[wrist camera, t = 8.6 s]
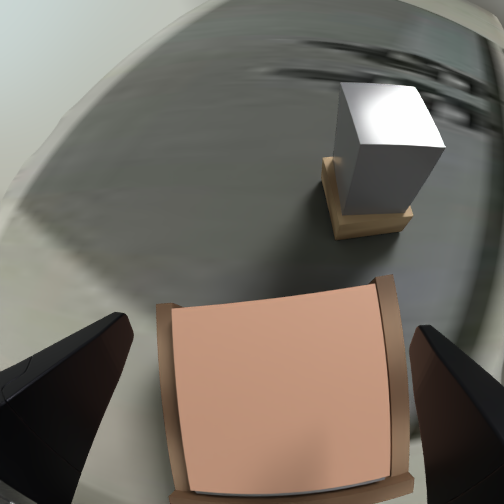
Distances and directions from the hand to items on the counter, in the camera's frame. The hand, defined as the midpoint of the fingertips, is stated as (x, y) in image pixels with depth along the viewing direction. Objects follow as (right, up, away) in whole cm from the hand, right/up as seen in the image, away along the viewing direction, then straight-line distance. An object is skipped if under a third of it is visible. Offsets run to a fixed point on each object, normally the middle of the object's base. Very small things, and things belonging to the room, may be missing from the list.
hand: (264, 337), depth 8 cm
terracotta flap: (+1, -5, +5) cm, 7 cm away
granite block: (+8, +8, +12) cm, 17 cm away
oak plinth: (+9, +7, +15) cm, 19 cm away
